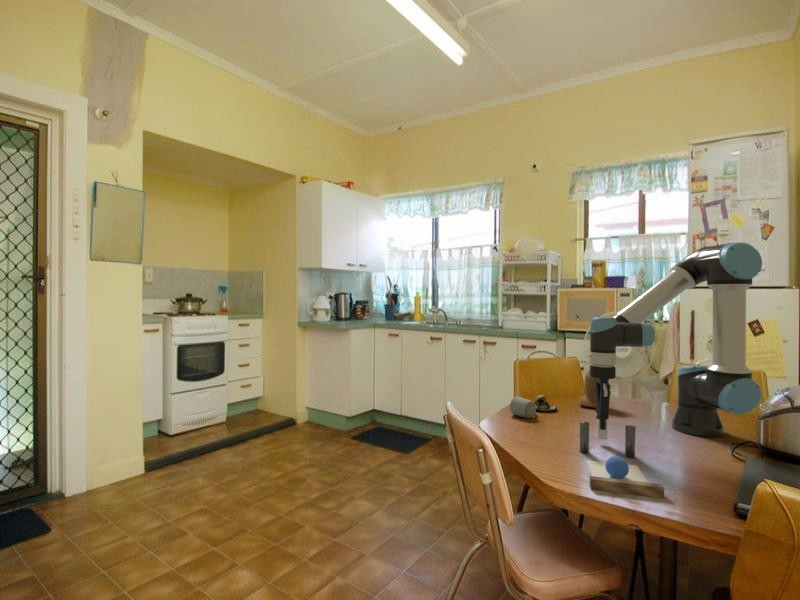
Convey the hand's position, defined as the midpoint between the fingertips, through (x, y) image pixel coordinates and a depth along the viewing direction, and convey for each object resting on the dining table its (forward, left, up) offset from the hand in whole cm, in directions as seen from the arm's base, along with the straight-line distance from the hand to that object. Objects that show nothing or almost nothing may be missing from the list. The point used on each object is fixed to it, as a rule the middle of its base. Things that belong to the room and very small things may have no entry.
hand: (601, 438), depth 139 cm
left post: (+6, +9, -2) cm, 11 cm away
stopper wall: (0, +35, -2) cm, 35 cm away
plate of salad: (+17, -40, -3) cm, 44 cm away
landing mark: (0, +23, -2) cm, 23 cm away
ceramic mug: (+24, -27, -2) cm, 36 cm away
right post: (-6, +9, -2) cm, 11 cm away
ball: (0, +27, +1) cm, 27 cm away
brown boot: (-5, -53, -2) cm, 53 cm away
